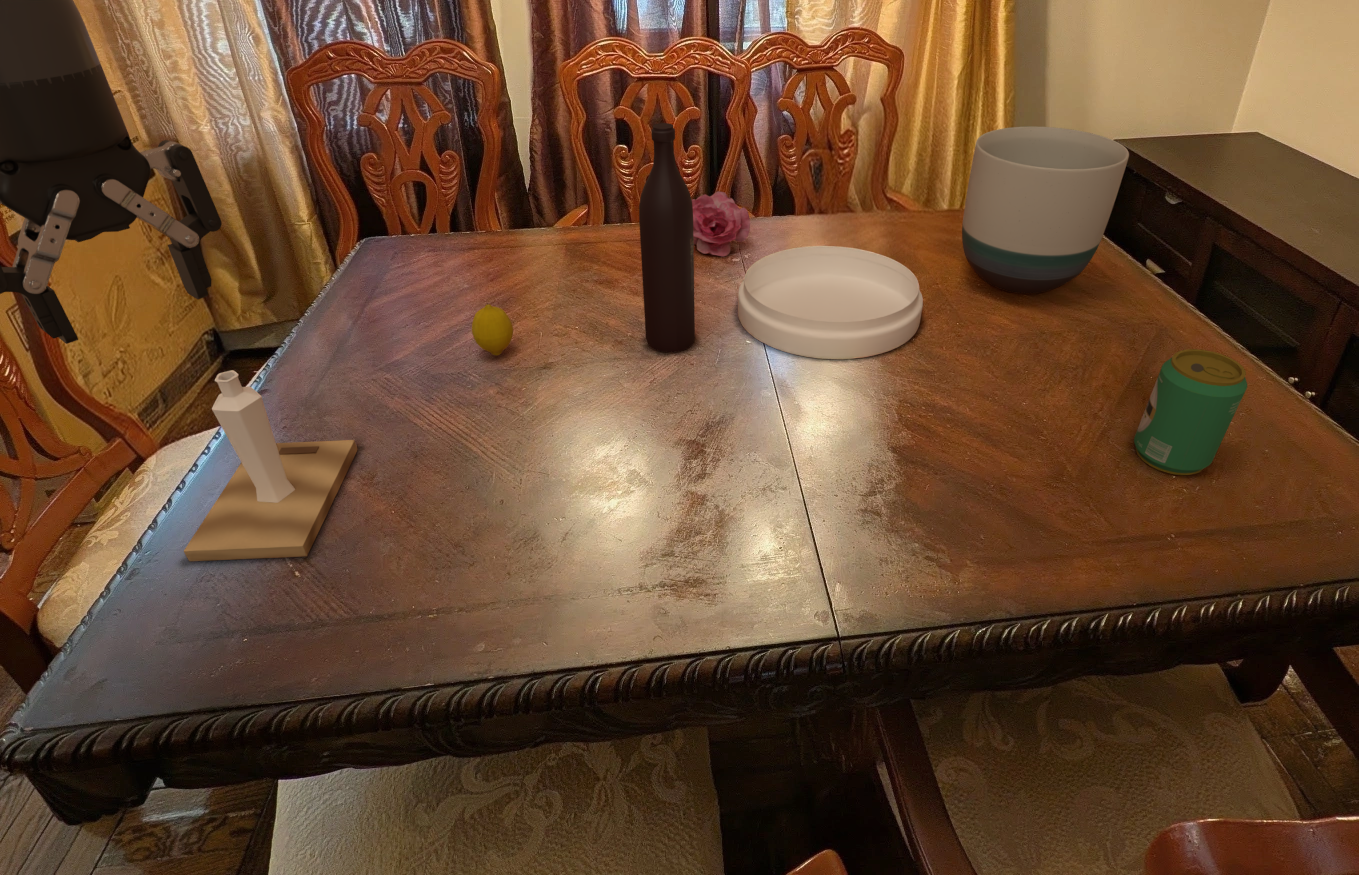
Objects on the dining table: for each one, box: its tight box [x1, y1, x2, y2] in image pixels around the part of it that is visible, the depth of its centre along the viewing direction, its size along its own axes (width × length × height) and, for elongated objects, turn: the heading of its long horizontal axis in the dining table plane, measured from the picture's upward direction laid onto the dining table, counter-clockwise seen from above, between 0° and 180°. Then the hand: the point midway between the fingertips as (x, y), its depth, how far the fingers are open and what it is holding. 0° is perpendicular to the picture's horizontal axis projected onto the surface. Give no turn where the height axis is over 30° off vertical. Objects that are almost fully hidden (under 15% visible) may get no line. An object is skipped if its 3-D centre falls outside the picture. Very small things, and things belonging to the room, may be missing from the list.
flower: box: [691, 190, 751, 257], centre depth 140 cm, size 11×10×10 cm
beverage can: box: [1133, 348, 1248, 476], centre depth 88 cm, size 8×8×12 cm
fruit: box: [471, 303, 514, 357], centre depth 111 cm, size 6×6×8 cm
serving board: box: [183, 439, 358, 562], centre depth 88 cm, size 18×12×2 cm, turn 2°
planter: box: [961, 126, 1130, 295], centre depth 121 cm, size 20×20×21 cm
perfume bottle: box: [211, 369, 295, 503], centre depth 84 cm, size 5×4×15 cm
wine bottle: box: [638, 122, 696, 353], centre depth 106 cm, size 7×7×30 cm
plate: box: [737, 245, 924, 360], centre depth 119 cm, size 27×27×6 cm
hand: (136, 316), depth 56 cm, fingers open, 8 cm apart
